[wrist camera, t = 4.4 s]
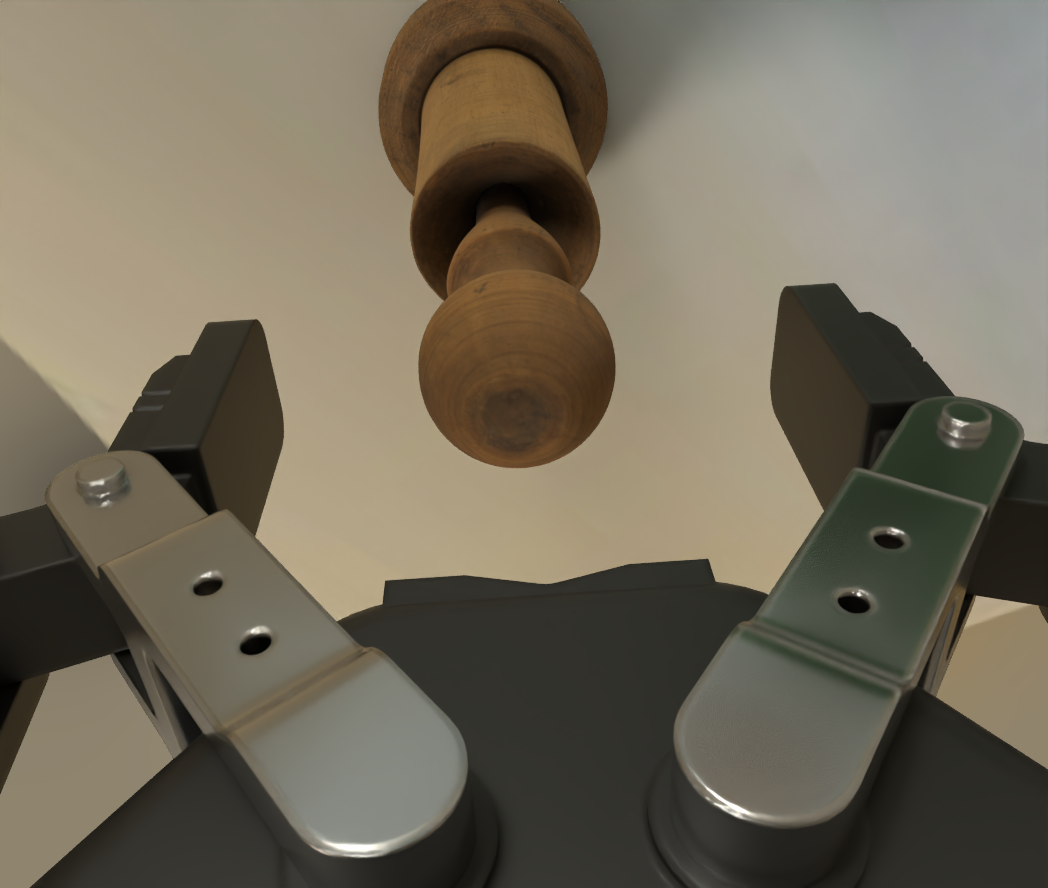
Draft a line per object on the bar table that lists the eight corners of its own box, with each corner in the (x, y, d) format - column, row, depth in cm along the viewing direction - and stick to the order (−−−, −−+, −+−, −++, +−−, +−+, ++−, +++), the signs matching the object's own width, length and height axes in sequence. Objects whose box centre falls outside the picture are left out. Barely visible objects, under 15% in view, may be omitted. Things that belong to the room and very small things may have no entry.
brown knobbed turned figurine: (536, 237, 31) (602, 637, 16) (350, 150, 29) (224, 512, 14) (639, 43, 27) (845, 315, 12) (437, -69, 26) (396, 95, 11)
